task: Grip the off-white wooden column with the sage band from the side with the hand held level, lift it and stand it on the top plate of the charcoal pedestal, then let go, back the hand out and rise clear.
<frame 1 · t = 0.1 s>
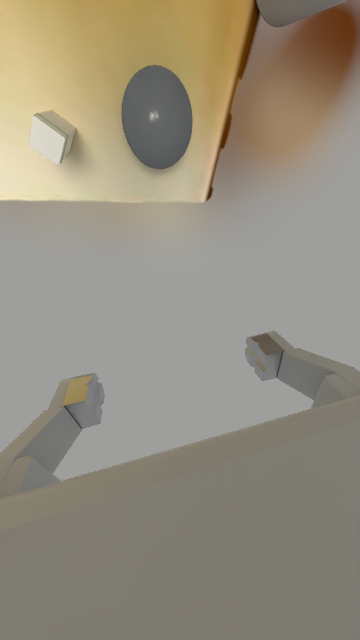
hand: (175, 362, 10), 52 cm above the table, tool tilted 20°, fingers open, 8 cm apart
column: (61, 131, 37), on the table
pedestal: (153, 121, 39), on the table
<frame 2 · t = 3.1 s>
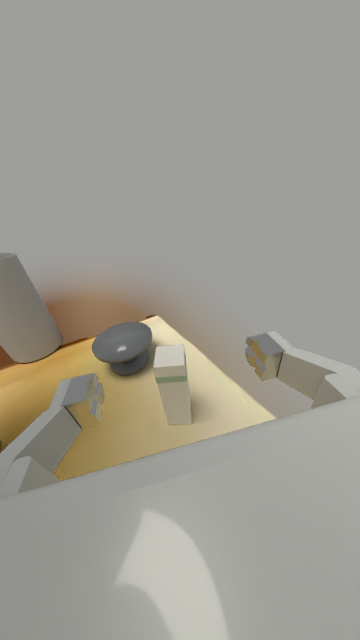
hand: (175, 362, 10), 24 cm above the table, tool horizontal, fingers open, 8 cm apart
column: (179, 412, 33), on the table
cylinder vase: (40, 348, 53), on the table
pedestal: (130, 360, 45), on the table
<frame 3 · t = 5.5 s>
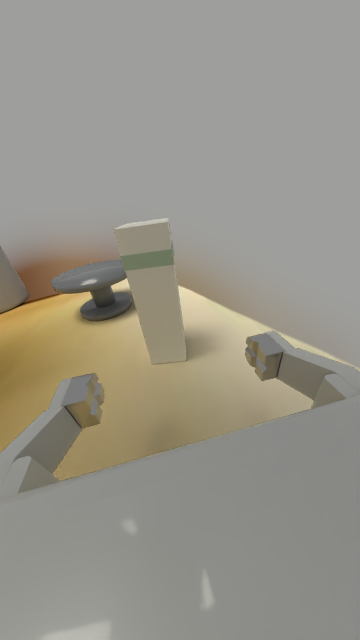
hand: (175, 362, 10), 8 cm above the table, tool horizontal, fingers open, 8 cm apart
column: (169, 350, 23), on the table
cylinder vase: (0, 306, 43), on the table
pedestal: (107, 307, 35), on the table
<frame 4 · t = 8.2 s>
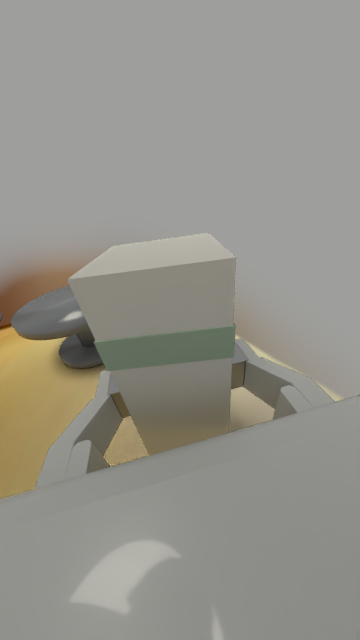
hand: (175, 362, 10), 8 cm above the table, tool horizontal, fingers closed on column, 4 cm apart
column: (192, 449, 14), on the table, touching gripper
pedestal: (97, 344, 26), on the table
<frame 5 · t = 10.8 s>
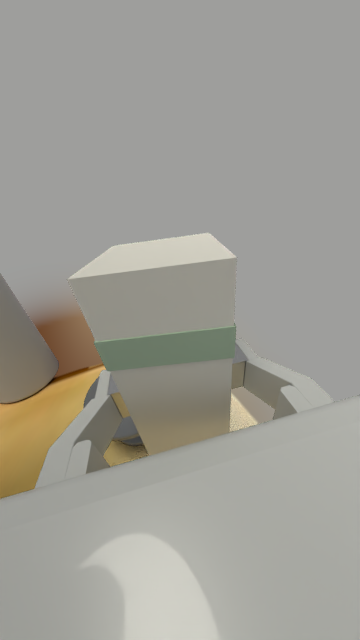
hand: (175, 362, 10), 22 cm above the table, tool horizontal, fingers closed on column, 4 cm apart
column: (192, 450, 13), point 14 cm above the table, touching gripper
cylinder vase: (30, 379, 42), on the table
pedestal: (141, 415, 31), on the table
when the fingers open (16 cm above the table, at t = 13.7 s): column drops 1 cm, resting on pedestal.
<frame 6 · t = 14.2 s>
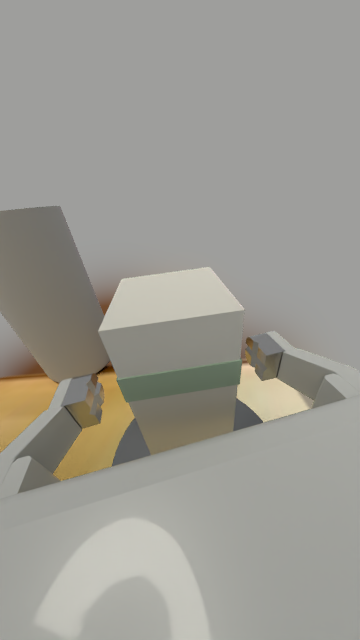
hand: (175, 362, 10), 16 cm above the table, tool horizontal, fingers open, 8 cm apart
column: (193, 458, 14), point 7 cm above the table, touching pedestal
cylinder vase: (85, 359, 37), on the table
pedestal: (200, 489, 18), on the table
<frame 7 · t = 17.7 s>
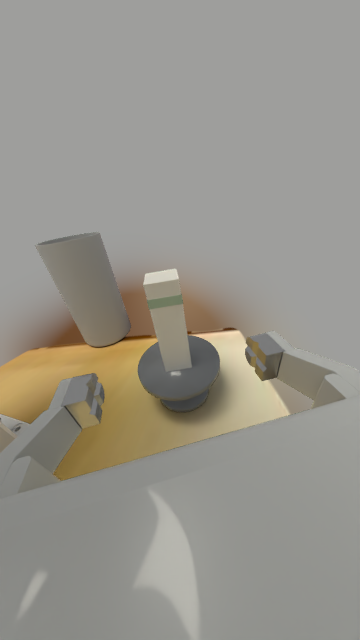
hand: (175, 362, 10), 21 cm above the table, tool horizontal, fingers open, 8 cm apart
column: (177, 360, 30), point 7 cm above the table, touching pedestal
cylinder vase: (109, 334, 52), on the table
pedestal: (183, 388, 33), on the table
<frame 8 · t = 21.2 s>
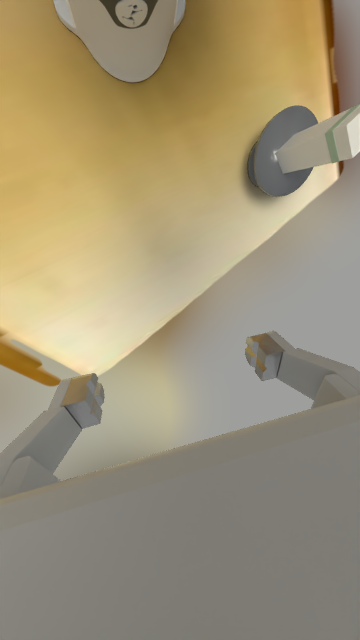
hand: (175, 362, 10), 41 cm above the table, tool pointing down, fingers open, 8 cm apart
column: (288, 155, 35), point 7 cm above the table, touching pedestal
pedestal: (266, 162, 41), on the table
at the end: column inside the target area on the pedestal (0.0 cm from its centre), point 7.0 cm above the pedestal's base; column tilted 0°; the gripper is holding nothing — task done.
